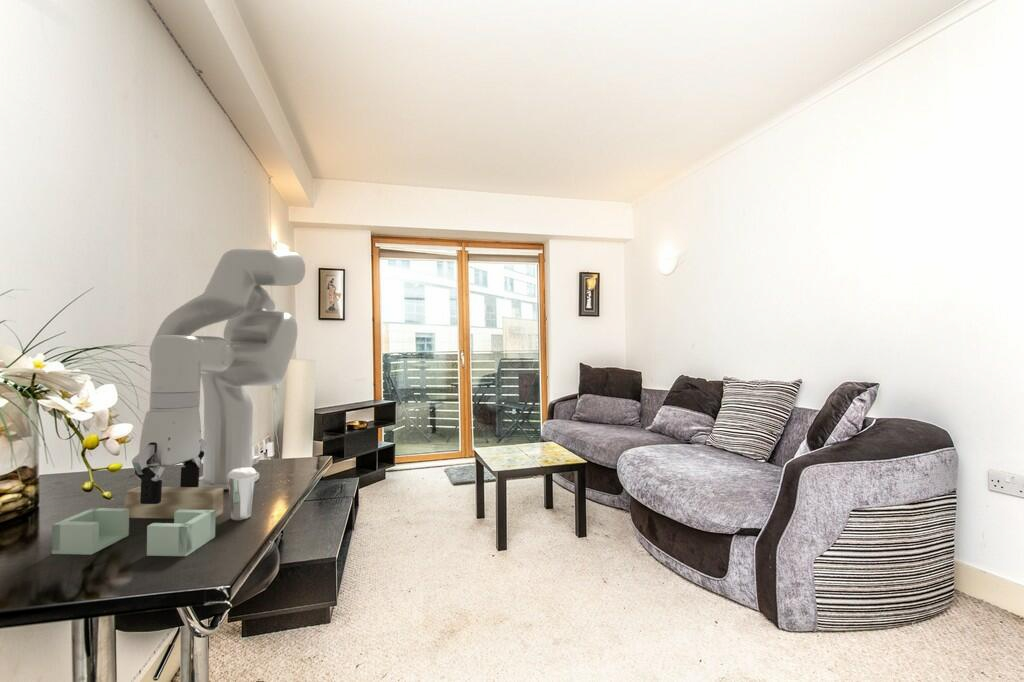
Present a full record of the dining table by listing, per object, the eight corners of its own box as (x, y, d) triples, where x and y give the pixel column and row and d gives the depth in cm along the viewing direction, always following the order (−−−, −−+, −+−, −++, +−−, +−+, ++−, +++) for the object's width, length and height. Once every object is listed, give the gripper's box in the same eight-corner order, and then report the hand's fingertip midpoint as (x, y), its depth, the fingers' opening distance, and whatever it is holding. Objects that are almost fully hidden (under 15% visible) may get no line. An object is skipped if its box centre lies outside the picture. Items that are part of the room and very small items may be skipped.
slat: (124, 518, 85) (125, 491, 85) (137, 512, 88) (138, 486, 88) (213, 520, 85) (213, 492, 85) (222, 514, 88) (223, 487, 88)
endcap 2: (215, 536, 78) (215, 510, 78) (186, 556, 71) (186, 526, 71) (179, 536, 78) (179, 509, 78) (146, 555, 71) (147, 526, 71)
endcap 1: (52, 553, 71) (52, 524, 71) (92, 534, 78) (93, 507, 78) (91, 554, 71) (91, 525, 71) (128, 535, 78) (129, 508, 78)
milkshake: (256, 509, 90) (257, 458, 90) (254, 519, 85) (255, 465, 85) (228, 513, 88) (229, 460, 88) (225, 523, 83) (226, 467, 83)
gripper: (187, 397, 95) (183, 482, 94) (115, 406, 78) (110, 510, 77) (224, 398, 95) (220, 483, 94) (160, 406, 78) (155, 510, 77)
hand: (171, 495), depth 86 cm, fingers open, 9 cm apart
